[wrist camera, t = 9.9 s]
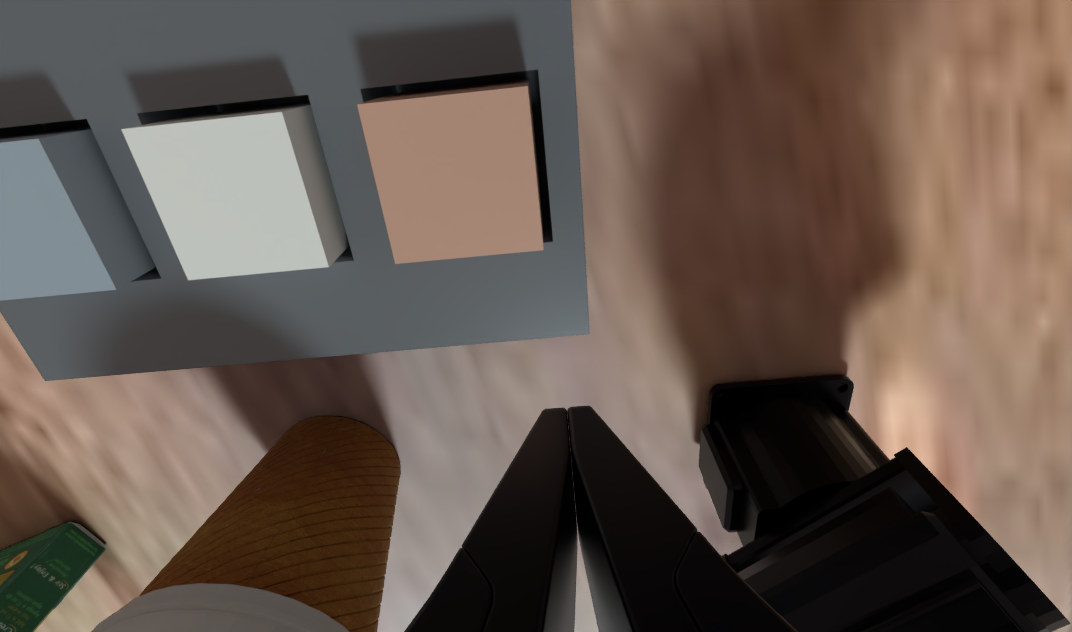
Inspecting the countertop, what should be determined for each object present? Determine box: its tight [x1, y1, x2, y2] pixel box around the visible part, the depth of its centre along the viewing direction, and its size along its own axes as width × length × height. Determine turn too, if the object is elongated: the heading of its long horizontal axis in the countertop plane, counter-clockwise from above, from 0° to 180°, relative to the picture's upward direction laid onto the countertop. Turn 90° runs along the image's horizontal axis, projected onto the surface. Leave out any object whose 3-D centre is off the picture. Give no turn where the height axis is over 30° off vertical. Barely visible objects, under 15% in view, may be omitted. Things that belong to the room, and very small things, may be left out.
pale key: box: [121, 102, 350, 280], centre depth 16 cm, size 4×4×4 cm
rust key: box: [357, 78, 544, 264], centre depth 16 cm, size 4×4×4 cm
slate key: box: [0, 126, 156, 301], centre depth 17 cm, size 4×4×4 cm
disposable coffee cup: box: [92, 416, 401, 632], centre depth 21 cm, size 10×10×12 cm
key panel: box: [0, 0, 590, 381], centre depth 18 cm, size 20×12×4 cm, turn 96°
